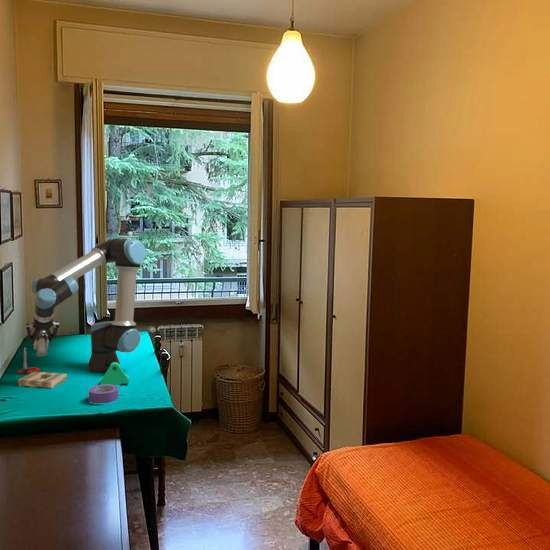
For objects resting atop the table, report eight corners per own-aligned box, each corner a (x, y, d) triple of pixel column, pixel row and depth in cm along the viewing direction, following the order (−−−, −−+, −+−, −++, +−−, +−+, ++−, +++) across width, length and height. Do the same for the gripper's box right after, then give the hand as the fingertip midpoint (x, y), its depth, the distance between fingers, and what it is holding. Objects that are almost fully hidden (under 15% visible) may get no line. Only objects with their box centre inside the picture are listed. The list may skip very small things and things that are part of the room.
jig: (66, 380, 249) (66, 374, 249) (51, 388, 238) (51, 382, 237) (35, 378, 252) (35, 371, 252) (18, 386, 240) (18, 379, 240)
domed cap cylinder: (50, 353, 246) (49, 329, 244) (43, 356, 241) (42, 332, 239) (40, 352, 247) (39, 329, 245) (33, 355, 242) (32, 331, 240)
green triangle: (129, 380, 251) (128, 358, 250) (128, 385, 244) (128, 363, 242) (102, 382, 248) (101, 360, 247) (100, 387, 241) (100, 364, 240)
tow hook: (27, 369, 267) (16, 373, 258) (27, 343, 267) (15, 347, 257) (43, 370, 266) (32, 375, 257) (43, 344, 265) (32, 348, 256)
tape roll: (124, 400, 225) (123, 388, 225) (98, 407, 216) (98, 395, 216) (108, 393, 233) (108, 382, 232) (83, 400, 224) (83, 388, 224)
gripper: (22, 325, 224) (20, 355, 240) (66, 321, 233) (62, 350, 249) (20, 310, 228) (19, 340, 244) (64, 307, 237) (60, 337, 253)
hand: (40, 345), depth 246 cm, fingers closed on domed cap cylinder, 4 cm apart
